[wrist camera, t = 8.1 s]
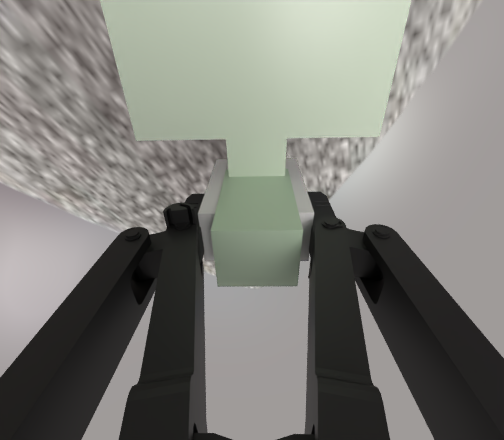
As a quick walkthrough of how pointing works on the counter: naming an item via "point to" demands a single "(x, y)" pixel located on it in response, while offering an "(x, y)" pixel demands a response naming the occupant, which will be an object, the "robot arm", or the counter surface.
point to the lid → (256, 100)
